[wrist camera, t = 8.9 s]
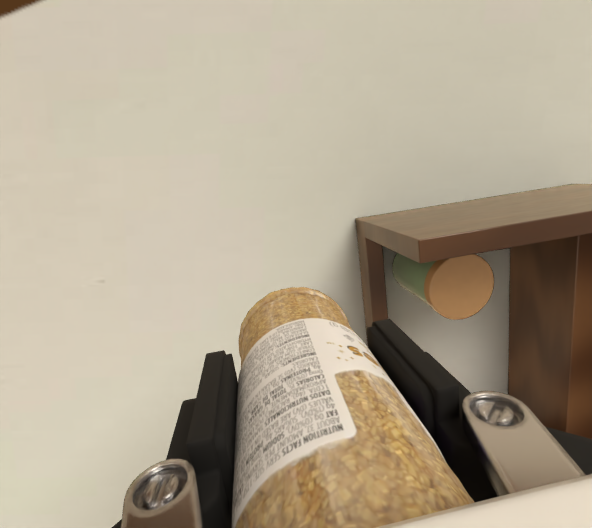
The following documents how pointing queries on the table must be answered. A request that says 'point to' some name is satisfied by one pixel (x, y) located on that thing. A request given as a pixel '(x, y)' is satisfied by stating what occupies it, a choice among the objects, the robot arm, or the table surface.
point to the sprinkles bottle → (326, 427)
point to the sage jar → (447, 283)
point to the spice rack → (512, 284)
